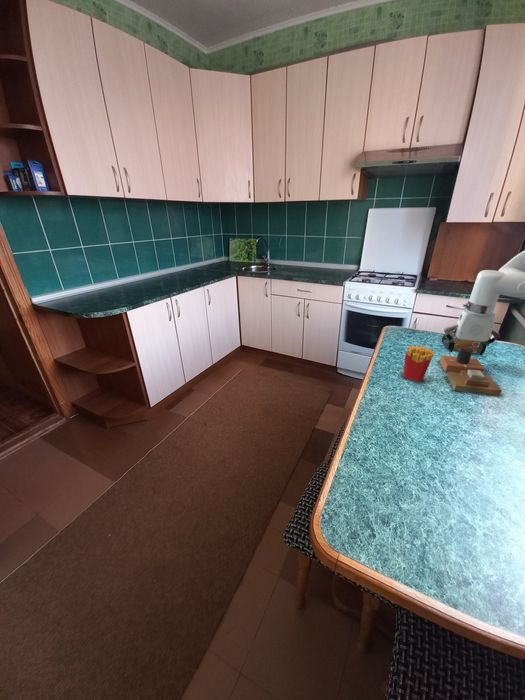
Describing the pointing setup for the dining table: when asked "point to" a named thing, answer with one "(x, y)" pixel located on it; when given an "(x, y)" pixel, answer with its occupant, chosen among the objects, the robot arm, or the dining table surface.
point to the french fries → (417, 362)
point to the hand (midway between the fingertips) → (464, 352)
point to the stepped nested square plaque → (473, 384)
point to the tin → (461, 343)
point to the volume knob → (464, 355)
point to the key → (475, 374)
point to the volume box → (459, 364)
